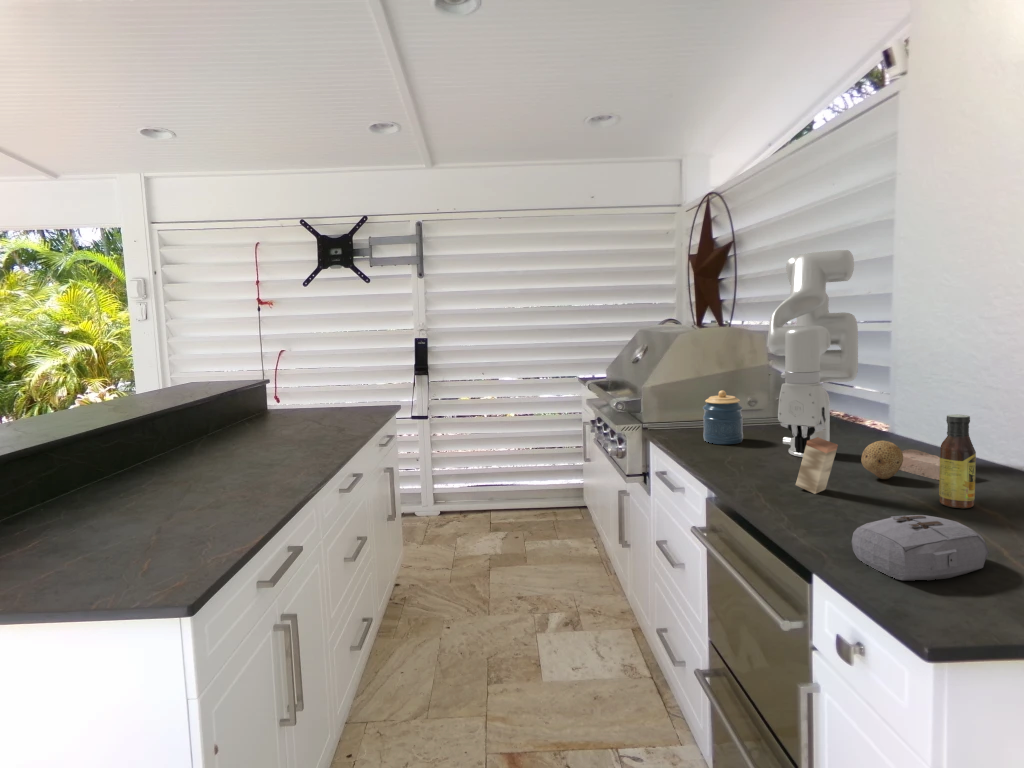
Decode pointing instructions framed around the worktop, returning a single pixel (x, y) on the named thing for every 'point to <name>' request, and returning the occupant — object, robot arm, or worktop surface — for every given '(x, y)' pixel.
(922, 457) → the brick
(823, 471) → the maple block
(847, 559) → the worktop surface
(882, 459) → the natural sponge
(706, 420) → the canister
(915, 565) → the soft grey pack
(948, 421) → the sauce bottle
